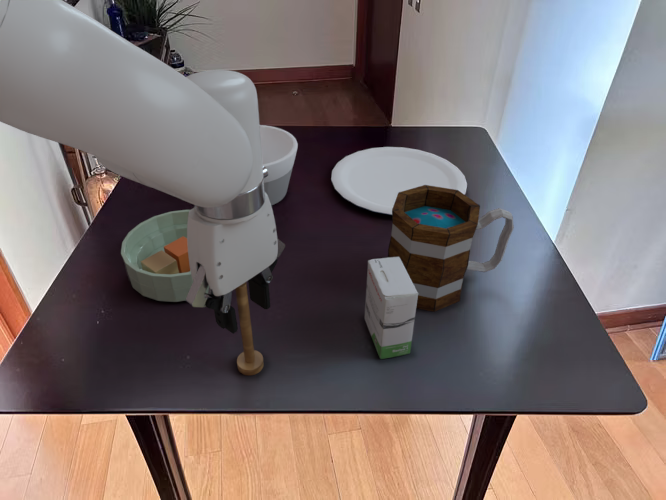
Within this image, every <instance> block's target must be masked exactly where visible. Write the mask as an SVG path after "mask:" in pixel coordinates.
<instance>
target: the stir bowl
mask: <svg viewBox="0 0 666 500" xmlns="http://www.w3.org/2000/svg"><path fill="white" fill-rule="evenodd" d="M190 210H191V209H182V210H181V209H180V210H173V211H168V212H164V213H161V214H158V215H153V216H152V217H150V218H148V219H145V220H144V221H142V222H139V224H137V225H136V226H135V227H133V228H132V229H131V230H130V231H129V232H128V233H127V234H126V235H125V237H124V238H123V241H122V242H121V248H120V256H121V258H122V262H123V266H124V269H125V273H126V275H127V278H128V281H129V283H130V285H131V287H132V289H134V290H135V291H136V292H137V293H139V294H140V295H141V296H142V297H146V298H148V299H152V300H155V301H158V302H170V303H179V302H186V297H187V295H188V292H189V290H190V288H191V285H192V283H193V279H192V276H191V271H189V272H185V273H178V274H155V273H151V272H147V271H144V270H143V269H142V265H141V261H143V260H144V259H146V258H148V257H150V256H152V255H154V254H155V253H157V252H159V251H161V250H162V251H164V246H166V245H168V244H170V243H172V242H174V241H175V240H177V239H179V238H181V237H183V236H184V237H185V238H187V223H188V214H189V211H190ZM164 252H165V251H164ZM208 290H209V285H208V287H207V290H206V292H205V293H207V294H208Z"/></svg>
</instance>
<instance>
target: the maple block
mask: <svg viewBox="0 0 666 500" xmlns="http://www.w3.org/2000/svg"><path fill="white" fill-rule="evenodd" d="M141 265H142V269H143V270H144V271H147V272H151V273H155V274H178V273H179V270H178V265H177V261H176V260H175V259H174V258H172V257H171V256H169V255H168V254H167V253H165V252H164V251H162V250H161V251H159V252H157V253H155V254H154V255H152V256H150V257H148V258H146V259H144V260H143V261H141Z"/></svg>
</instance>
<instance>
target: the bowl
mask: <svg viewBox="0 0 666 500" xmlns="http://www.w3.org/2000/svg"><path fill="white" fill-rule="evenodd" d="M260 137H261V151H262V165H263V166H264V167H266V169H267V170H268V176H267V177H265V178H264V190H265V192H266V194H267V195H268V198H269V200H270V203H271V206H274V205H275V204H278V203H279V202H281V201H282V200H283V199H284V198H285V197H286V195H287V192H288V188H289V184H290V181H291V180H290V179H291V177H292V172H293V167H294V164H295V160H296V156H297V152H298V147H299V143H298V141H297V138H296V137H295V135H293V134H292V133H290V132H289V131H287V130H285V129H283V128H280V127H277V126H272V125H265V124H260Z"/></svg>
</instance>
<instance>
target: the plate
mask: <svg viewBox="0 0 666 500" xmlns="http://www.w3.org/2000/svg"><path fill="white" fill-rule="evenodd" d="M330 180H331V184H332V186H333V188H334V190H335V191H336V192H337V193H338V194H339V195H340V196H341V198H343V199H344V200H345V201H348V202H349V203H351V204H353V205H355V206H356V207H359V208H361V209H363V210H367V211H370V212H373V213H377V214H383V215H388V216H392V209H393V206H394V203H395V200H396V198H397V195H398V193H399V192H402V191H406V190H409V189H413V188H416V187H419V186H423V185H429V186H436V187H442V188H448V189H454V190H459V191H460V192H461V193H463V194H464V195H465V196H466V193H467V187H468V183H467V180H466V176H465V174H464V173H463V172H462V171H461V169H460V168H458V166H456V164H455V165H454V164H453V163H452V162H450V161H449V160H447V159H446V158H443V157H441V156H440V155H437V154H434V153H431V152H427V151H424V150H421V149H417V148H416V149H415V148H409V147H404V146H403V147H401V146H383V147H370V148H365V149H363V150H357V151H356V152H353V153H351V154H349V155H345V156H344V157H342V159H341V160H339V161H338V162H337V163H336V164H335V165H334V167H333V169H332V170H331V178H330Z"/></svg>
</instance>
